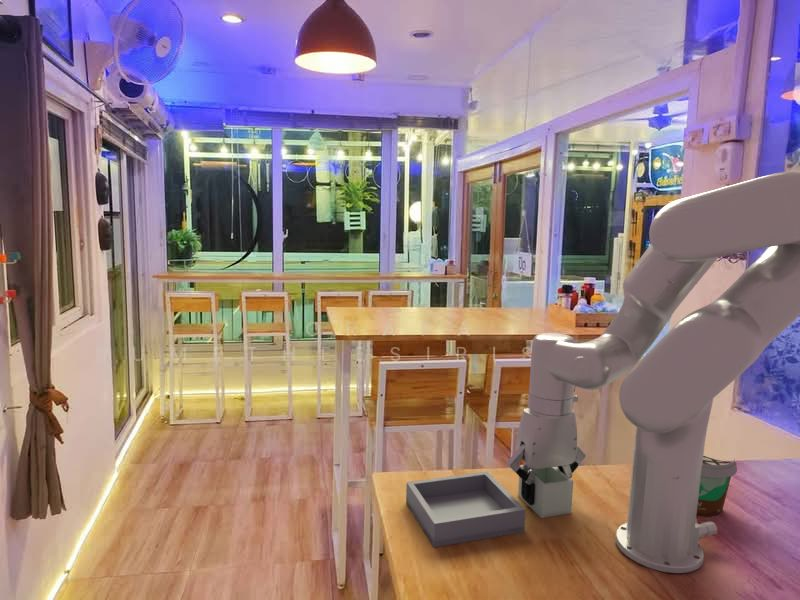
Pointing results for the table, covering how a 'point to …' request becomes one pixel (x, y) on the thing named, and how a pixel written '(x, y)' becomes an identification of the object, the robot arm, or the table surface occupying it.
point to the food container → (714, 486)
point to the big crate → (464, 508)
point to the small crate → (550, 492)
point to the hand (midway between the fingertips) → (544, 498)
